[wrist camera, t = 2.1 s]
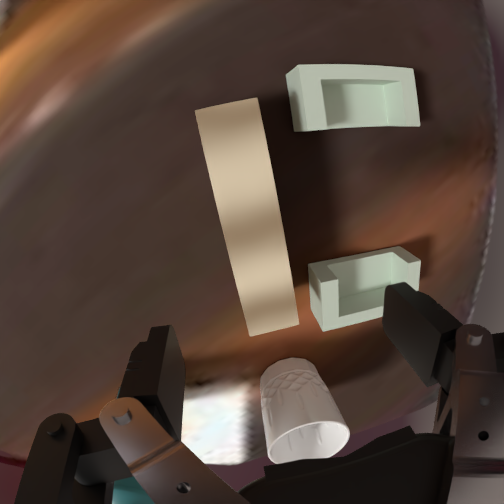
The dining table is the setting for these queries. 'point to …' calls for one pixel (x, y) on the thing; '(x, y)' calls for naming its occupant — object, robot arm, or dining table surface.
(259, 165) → the wooden block
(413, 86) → the end cap
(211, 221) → the dining table surface
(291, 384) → the white cup
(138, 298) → the dining table surface
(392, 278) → the end cap
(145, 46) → the dining table surface
